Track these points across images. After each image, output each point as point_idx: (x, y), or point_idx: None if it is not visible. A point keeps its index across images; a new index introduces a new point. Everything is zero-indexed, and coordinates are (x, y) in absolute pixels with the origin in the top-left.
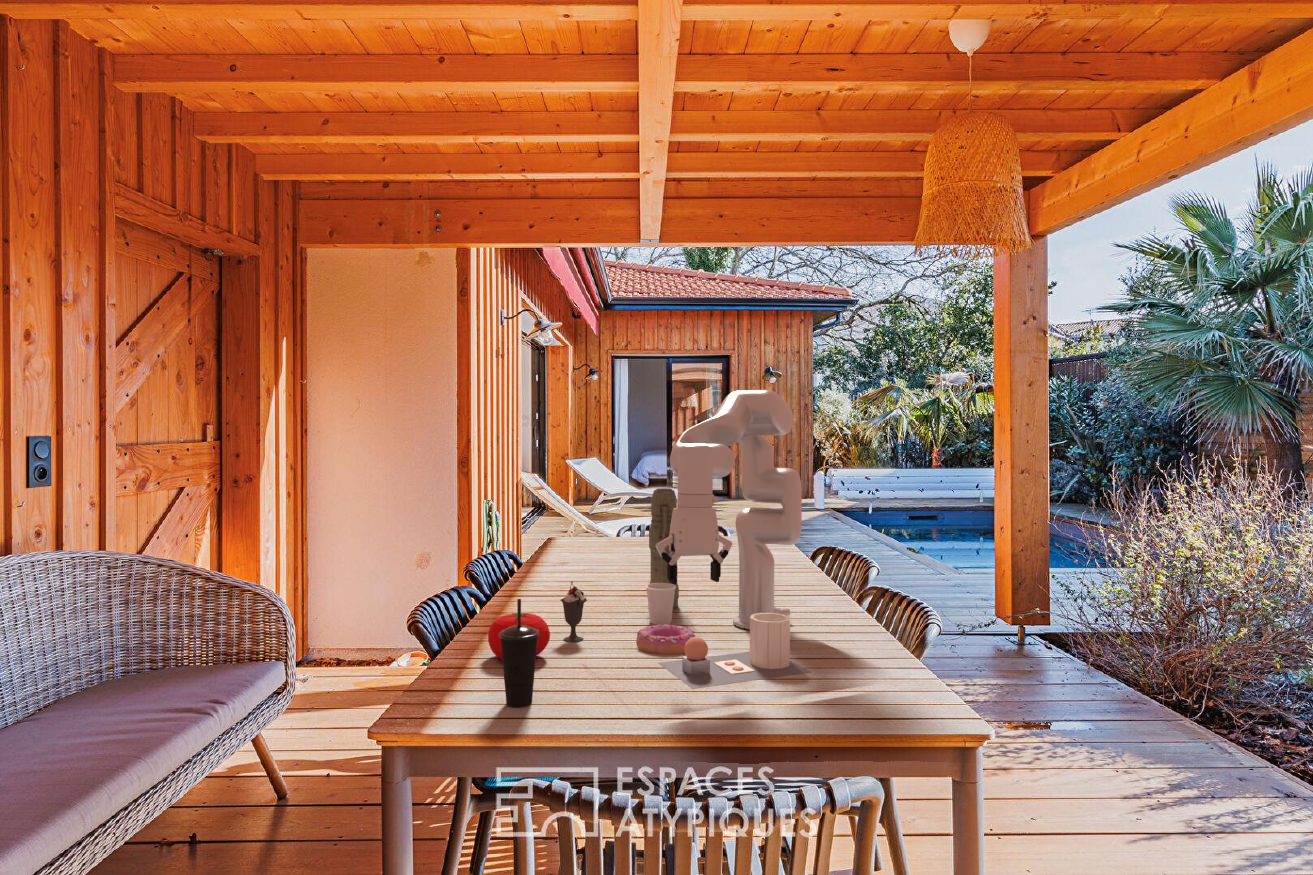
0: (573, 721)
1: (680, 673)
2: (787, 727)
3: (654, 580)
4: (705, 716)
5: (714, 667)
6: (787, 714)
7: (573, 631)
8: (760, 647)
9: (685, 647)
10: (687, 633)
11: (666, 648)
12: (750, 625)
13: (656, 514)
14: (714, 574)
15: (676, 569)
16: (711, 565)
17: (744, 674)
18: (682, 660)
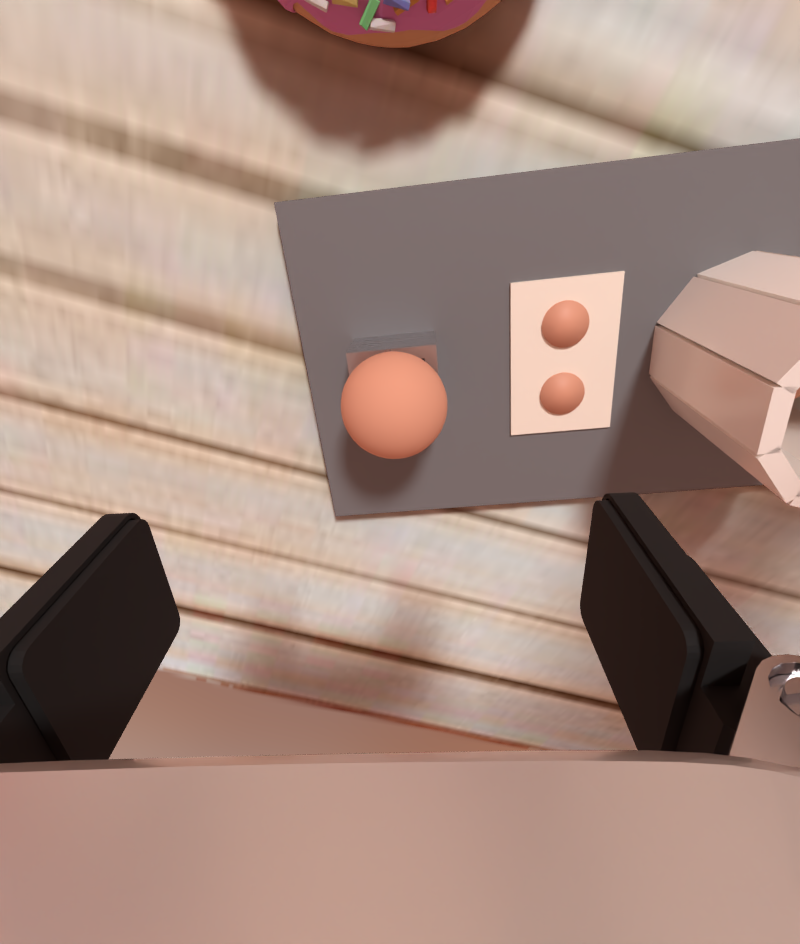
0: (9, 584)
1: (335, 371)
2: (477, 711)
3: None
4: (328, 632)
5: (488, 339)
6: (516, 665)
7: None
8: (696, 418)
9: (341, 412)
10: None
11: (341, 36)
12: (745, 378)
13: None
14: (606, 629)
15: (101, 757)
16: (659, 634)
17: (554, 445)
18: (348, 349)
